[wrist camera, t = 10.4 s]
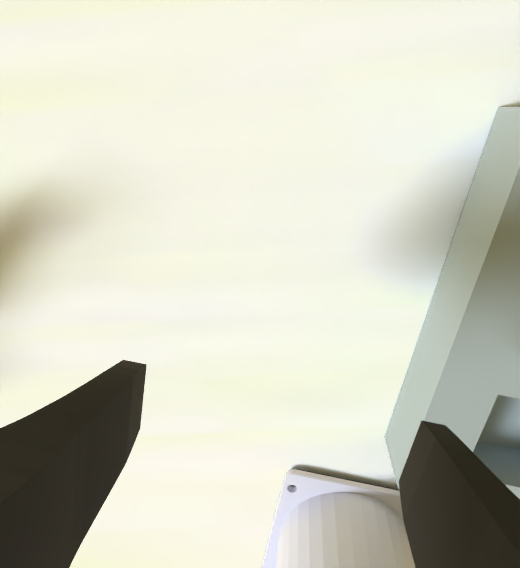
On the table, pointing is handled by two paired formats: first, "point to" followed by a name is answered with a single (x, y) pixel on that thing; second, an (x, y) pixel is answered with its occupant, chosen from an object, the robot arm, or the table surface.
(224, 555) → the table surface
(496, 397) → the hole block
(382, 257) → the table surface
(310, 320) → the table surface
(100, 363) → the table surface
